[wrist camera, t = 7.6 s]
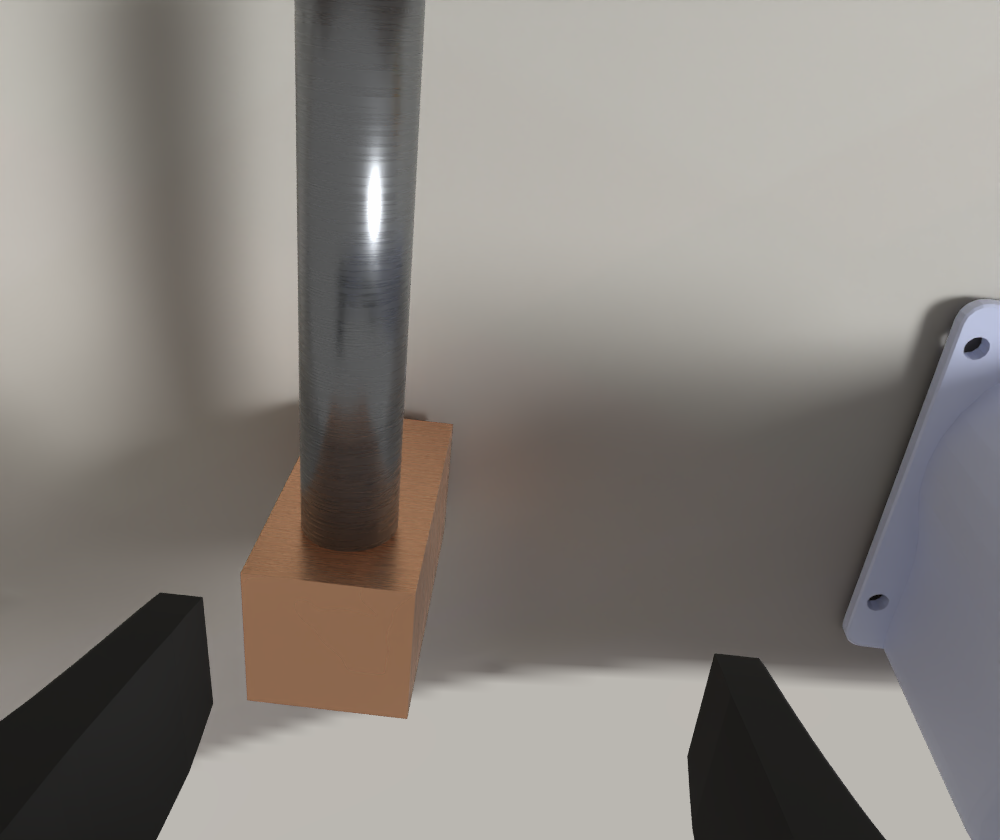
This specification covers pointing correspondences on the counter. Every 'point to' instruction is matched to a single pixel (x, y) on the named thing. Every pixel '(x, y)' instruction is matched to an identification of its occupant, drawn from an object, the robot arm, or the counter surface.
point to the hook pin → (351, 386)
